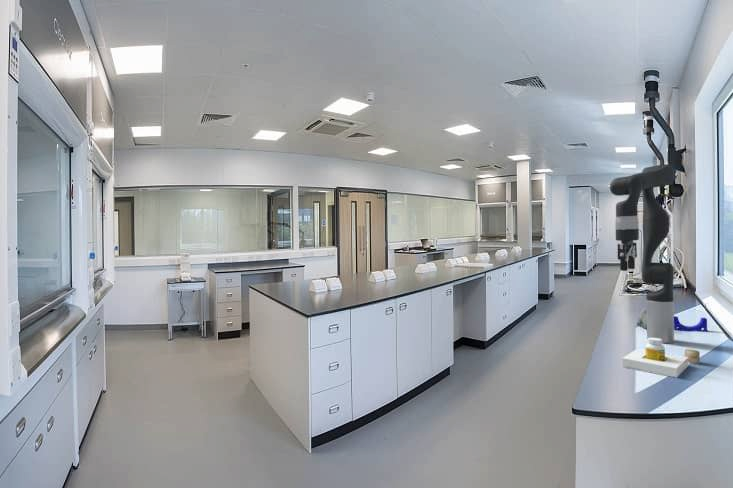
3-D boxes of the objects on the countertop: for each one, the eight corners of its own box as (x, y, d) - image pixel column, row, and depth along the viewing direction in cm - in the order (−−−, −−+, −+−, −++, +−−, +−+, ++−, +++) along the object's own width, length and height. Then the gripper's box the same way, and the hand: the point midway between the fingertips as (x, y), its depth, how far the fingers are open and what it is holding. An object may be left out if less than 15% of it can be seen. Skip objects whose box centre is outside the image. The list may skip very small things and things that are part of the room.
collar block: (637, 356, 146) (637, 348, 146) (688, 365, 135) (688, 357, 135) (622, 366, 136) (622, 358, 136) (676, 377, 125) (676, 368, 125)
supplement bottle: (649, 362, 139) (649, 336, 139) (667, 366, 135) (667, 339, 135) (643, 366, 136) (642, 338, 136) (661, 370, 132) (660, 341, 132)
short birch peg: (686, 359, 142) (686, 348, 142) (700, 362, 138) (700, 350, 138) (683, 362, 139) (683, 350, 139) (698, 364, 136) (697, 353, 136)
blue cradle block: (675, 330, 183) (674, 317, 182) (672, 328, 187) (672, 316, 186) (708, 332, 177) (707, 319, 177) (705, 330, 181) (705, 317, 181)
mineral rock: (658, 333, 178) (658, 311, 178) (630, 329, 186) (630, 308, 186) (664, 328, 186) (664, 307, 186) (638, 325, 194) (637, 305, 194)
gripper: (622, 228, 159) (622, 268, 160) (609, 228, 150) (610, 270, 150) (644, 227, 154) (644, 268, 154) (632, 228, 144) (633, 271, 145)
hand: (627, 269), depth 152 cm, fingers open, 8 cm apart
